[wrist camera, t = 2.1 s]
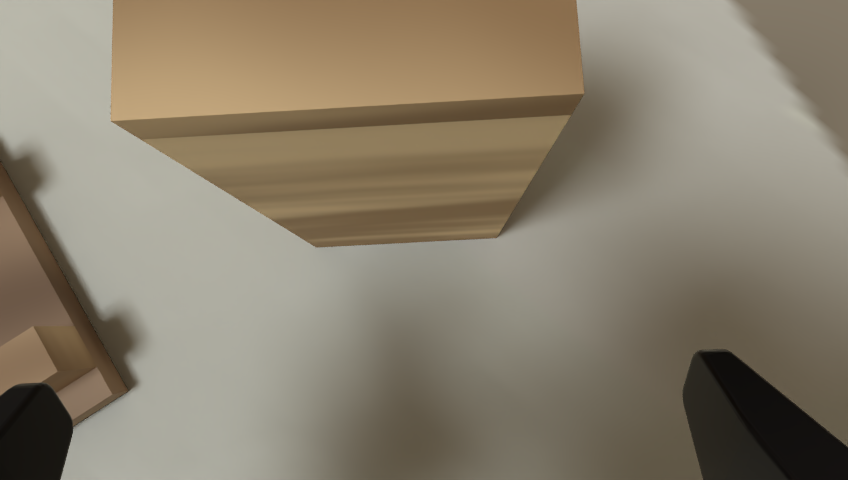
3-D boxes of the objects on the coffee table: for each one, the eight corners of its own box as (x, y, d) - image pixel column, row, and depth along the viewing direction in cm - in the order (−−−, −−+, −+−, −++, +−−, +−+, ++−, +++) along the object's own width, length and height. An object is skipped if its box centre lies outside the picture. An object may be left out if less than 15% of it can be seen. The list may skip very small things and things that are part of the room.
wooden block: (496, 237, 21) (584, 93, 8) (316, 247, 21) (110, 121, 8) (490, 149, 21) (565, -125, 8) (313, 159, 21) (115, -95, 8)
